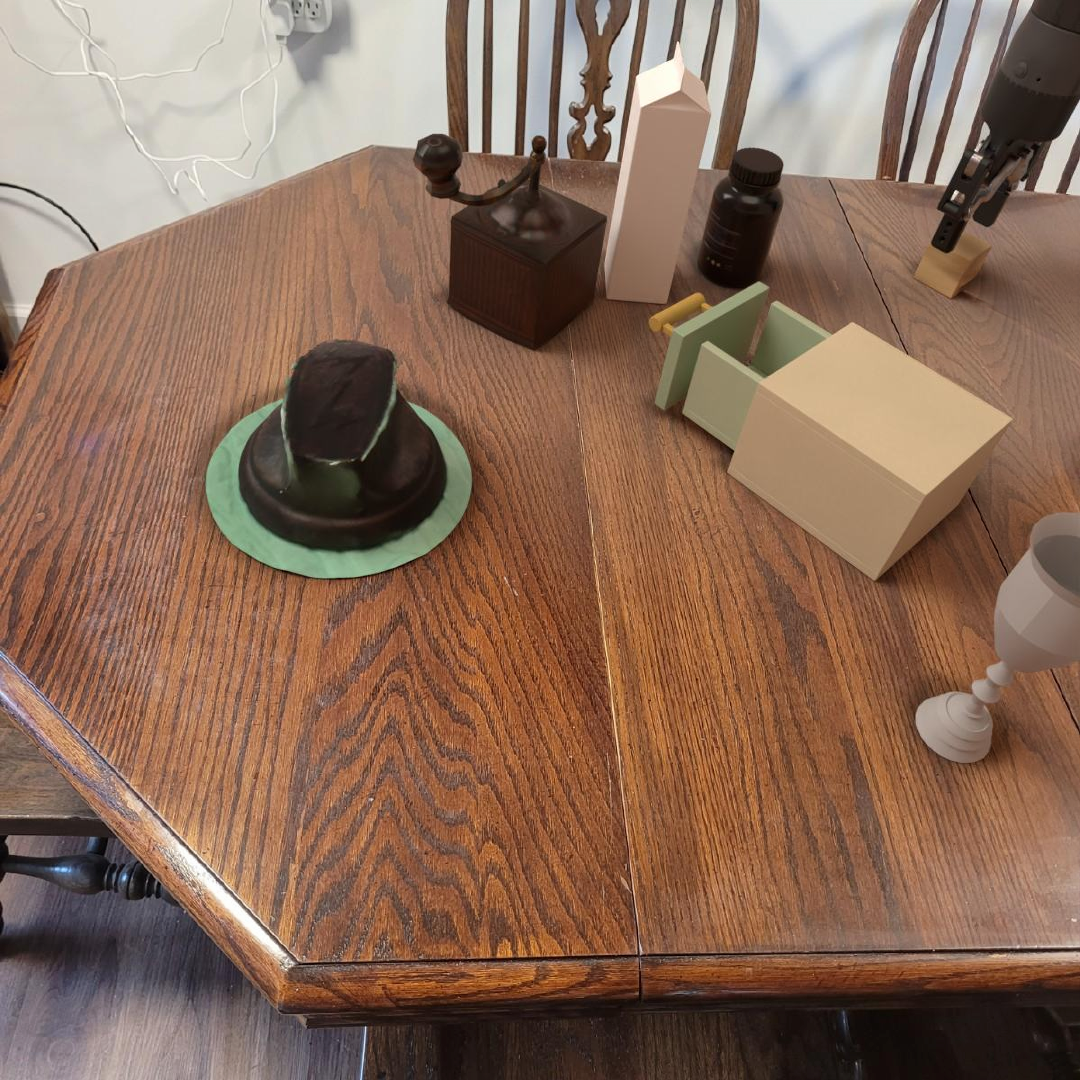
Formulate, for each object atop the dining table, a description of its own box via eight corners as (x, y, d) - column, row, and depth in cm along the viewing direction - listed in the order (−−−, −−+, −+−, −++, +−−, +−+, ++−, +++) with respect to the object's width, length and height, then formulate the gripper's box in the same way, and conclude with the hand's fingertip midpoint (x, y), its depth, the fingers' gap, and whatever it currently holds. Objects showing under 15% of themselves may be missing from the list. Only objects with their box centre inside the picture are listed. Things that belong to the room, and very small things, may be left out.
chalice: (893, 750, 62) (1028, 583, 48) (904, 670, 66) (1031, 495, 52) (1005, 792, 61) (1176, 632, 47) (1010, 708, 65) (1167, 539, 51)
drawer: (617, 377, 82) (633, 302, 77) (700, 329, 88) (720, 257, 82) (778, 494, 75) (809, 421, 69) (857, 433, 81) (891, 362, 75)
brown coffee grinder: (504, 257, 94) (518, 74, 81) (596, 302, 91) (628, 118, 77) (403, 328, 85) (401, 136, 72) (502, 381, 82) (518, 189, 68)
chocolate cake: (498, 563, 67) (208, 604, 63) (457, 486, 84) (226, 514, 80) (483, 354, 62) (164, 384, 58) (442, 316, 79) (193, 338, 75)
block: (935, 263, 102) (953, 225, 98) (972, 283, 100) (992, 245, 96) (912, 277, 99) (930, 239, 96) (950, 298, 97) (970, 260, 94)
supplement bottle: (722, 243, 100) (753, 134, 91) (774, 274, 97) (810, 164, 88) (681, 265, 96) (709, 154, 87) (733, 297, 94) (767, 185, 85)
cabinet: (726, 472, 77) (758, 382, 70) (814, 410, 84) (852, 321, 76) (874, 581, 71) (926, 495, 64) (957, 505, 77) (1013, 418, 70)
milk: (606, 300, 91) (645, 67, 75) (603, 264, 95) (640, 36, 79) (667, 305, 92) (721, 74, 75) (663, 269, 96) (712, 43, 79)
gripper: (1047, 110, 78) (959, 277, 90) (1116, 71, 85) (1026, 231, 97) (968, 74, 81) (893, 240, 93) (1041, 39, 88) (963, 198, 100)
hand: (961, 235), depth 95 cm, fingers open, 8 cm apart
